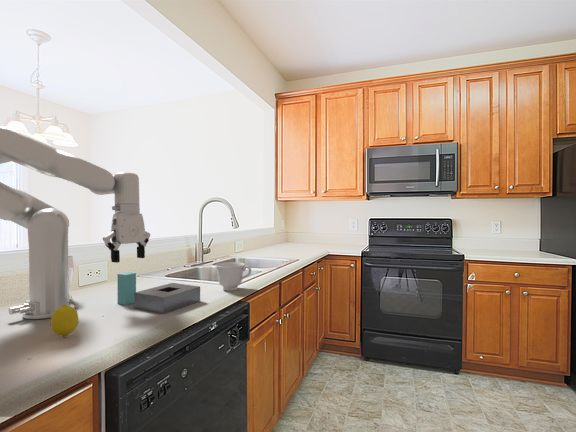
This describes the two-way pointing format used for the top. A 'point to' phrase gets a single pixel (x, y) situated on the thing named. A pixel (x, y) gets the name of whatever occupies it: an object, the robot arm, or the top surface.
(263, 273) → the top surface
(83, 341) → the top surface
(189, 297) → the socket block
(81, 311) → the top surface
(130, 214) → the robot arm
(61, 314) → the lemon
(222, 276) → the teacup
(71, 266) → the beer glass
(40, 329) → the top surface
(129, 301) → the square peg
